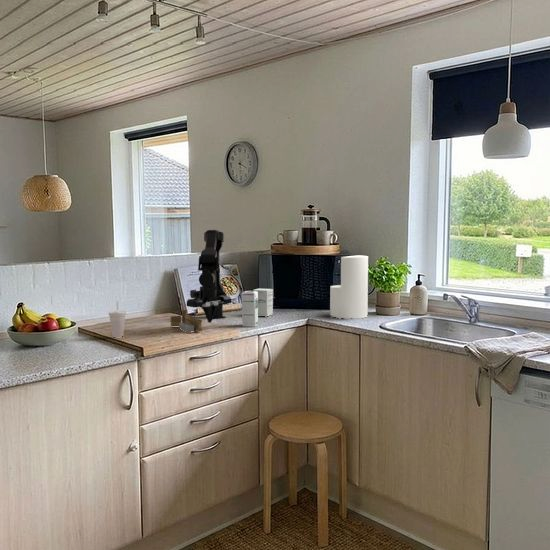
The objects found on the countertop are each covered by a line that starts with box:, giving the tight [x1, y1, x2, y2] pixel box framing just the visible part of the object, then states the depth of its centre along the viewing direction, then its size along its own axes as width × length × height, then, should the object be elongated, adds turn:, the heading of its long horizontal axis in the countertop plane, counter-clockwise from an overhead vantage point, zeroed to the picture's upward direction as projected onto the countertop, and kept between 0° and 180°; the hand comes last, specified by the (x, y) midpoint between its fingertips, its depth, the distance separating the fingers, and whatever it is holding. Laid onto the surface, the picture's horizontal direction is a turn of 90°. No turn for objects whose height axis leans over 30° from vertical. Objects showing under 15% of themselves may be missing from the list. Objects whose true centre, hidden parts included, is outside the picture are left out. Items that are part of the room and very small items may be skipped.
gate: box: [185, 314, 203, 333], centre depth 227 cm, size 2×14×5 cm, turn 30°
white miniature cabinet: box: [241, 290, 259, 328], centre depth 237 cm, size 6×6×14 cm
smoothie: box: [108, 300, 127, 338], centre depth 212 cm, size 6×6×14 cm
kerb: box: [178, 321, 195, 333], centre depth 226 cm, size 9×3×3 cm, turn 29°
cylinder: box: [329, 255, 369, 319], centre depth 261 cm, size 17×17×28 cm
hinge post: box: [170, 309, 188, 327], centre depth 234 cm, size 2×7×7 cm, turn 119°
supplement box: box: [252, 288, 274, 318], centre depth 264 cm, size 7×7×13 cm
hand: (209, 322), depth 229 cm, fingers closed
